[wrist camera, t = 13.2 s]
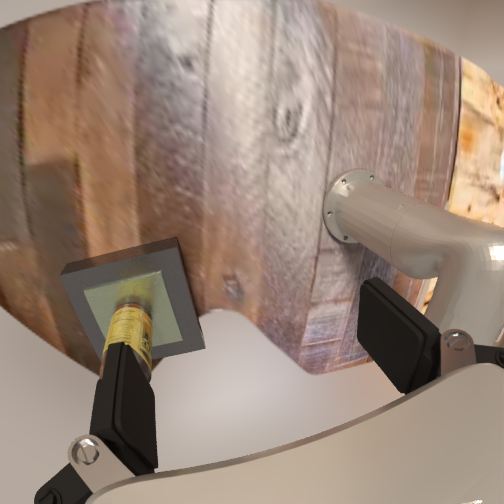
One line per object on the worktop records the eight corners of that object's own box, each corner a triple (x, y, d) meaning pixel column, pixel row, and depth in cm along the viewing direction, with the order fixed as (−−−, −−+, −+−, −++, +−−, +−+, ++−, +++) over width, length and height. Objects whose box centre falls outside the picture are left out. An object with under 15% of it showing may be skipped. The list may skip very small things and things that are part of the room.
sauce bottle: (151, 337, 44) (151, 447, 26) (111, 331, 42) (94, 440, 24) (155, 302, 42) (153, 413, 24) (113, 295, 40) (87, 404, 22)
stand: (176, 236, 43) (177, 248, 39) (202, 333, 51) (205, 350, 47) (67, 263, 40) (58, 276, 36) (107, 352, 48) (104, 369, 44)
